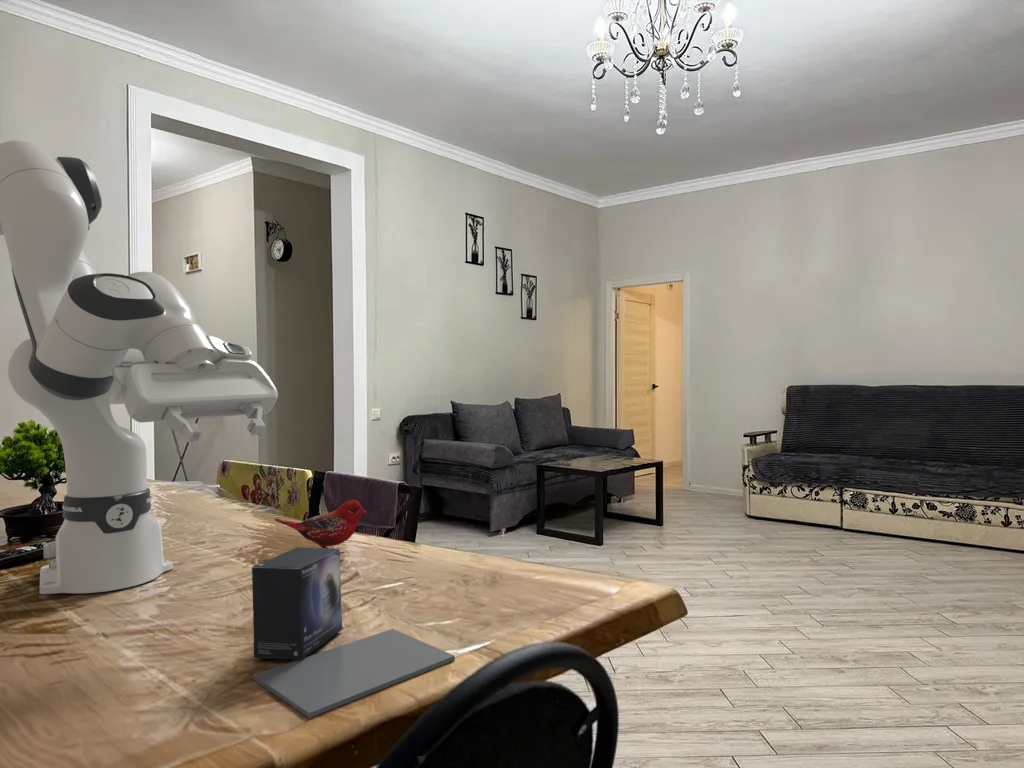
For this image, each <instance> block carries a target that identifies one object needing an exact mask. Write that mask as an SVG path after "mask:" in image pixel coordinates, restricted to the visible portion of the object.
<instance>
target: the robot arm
mask: <svg viewBox="0 0 1024 768" xmlns="http://www.w3.org/2000/svg"><path fill="white" fill-rule="evenodd" d="M102 200H103V192H102V187H101V184H100V181H99V179H98V177H97V176H96V174H95V173H94V172H93V170H92V169H91V168H90V166H89V165H88V164H87V163H86V162H85V161H83V160H82V159H81V158H78V157H71V156H70V157H69V156H57V158H54V157H53V156H51V154H49V153H48V152H47V151H46V150H45V149H44V148H41V147H40V146H39V145H37V144H35V143H32V142H28V141H25V140H8V141H5V142H1V143H0V236H3V237H4V240H5V243H6V247H7V252H8V257H9V262H10V266H11V272H12V277H13V281H14V287H15V291H16V295H17V299H18V302H19V306H20V309H21V313H22V315H23V318H24V322H25V324H26V328H27V331H28V335H29V338H28V339H25V340H23V341H22V342H21V343H19V344H18V346H17V347H16V348H15V349H14V351H13V352H12V354H11V356H10V359H9V361H8V366H7V367H8V368H7V371H8V372H7V374H8V380H9V383H10V385H11V387H12V389H13V391H14V392H15V393H16V395H18V396H19V398H20V399H21V400H23V401H24V402H26V403H27V404H29V405H31V406H33V407H34V408H35V409H36V410H38V411H39V412H40V413H41V414H42V415H44V417H46V418H47V420H49V422H50V423H51V425H52V426H53V427H54V429H55V432H56V433H57V436H58V437H59V440H60V442H61V445H62V446H61V447H62V450H63V455H64V456H63V458H64V466H65V478H66V494H65V496H63V503H62V507H61V508H62V517H63V519H64V520H63V522H62V524H61V525H60V527H59V530H58V531H57V533H56V536H55V540H54V541H52V540H51V541H49V542H48V543H44V544H43V547H42V548H43V559H46V560H47V559H51V558H55V560H49V562H48V564H46V565H43V566H41V567H40V572H39V594H40V595H52V594H53V595H54V594H93V593H103V592H111V591H116V590H121V589H127V588H132V587H135V586H139V585H141V584H145V583H147V582H150V581H152V580H154V579H156V578H158V577H159V576H161V575H162V574H163V573H165V572H168V571H171V570H172V569H174V566H173V561H171V560H169V559H168V560H167V559H165V558H164V552H163V551H164V550H163V549H164V548H163V547H164V546H163V538H162V527H161V522H160V520H158V519H157V518H155V517H154V516H152V514H151V512H150V511H151V510H152V504H151V502H152V496H151V489H150V488H149V487H148V479H147V477H148V475H147V474H148V472H147V447H146V444H145V442H144V440H143V439H142V438H141V437H140V436H139V434H137V433H135V432H133V431H132V430H131V429H130V430H129V429H128V428H126V427H123V426H120V425H119V424H118V423H117V422H116V420H115V418H114V416H113V414H112V411H111V405H124V406H125V408H126V411H127V415H128V416H129V417H130V418H131V419H132V420H134V421H136V422H138V423H151V422H152V423H153V422H164V424H165V425H166V427H168V428H170V429H171V430H173V431H174V432H176V433H178V434H180V435H181V437H182V439H183V441H184V443H191V442H198V441H199V438H200V437H201V436H202V432H201V430H200V428H199V425H198V424H197V422H194V423H193V422H192V423H190V422H189V421H188V420H194V419H208V418H222V417H235V416H236V417H237V416H246V418H247V419H249V420H250V419H251V420H250V421H249V424H248V425H247V426H246V429H247V431H248V432H249V433H250V434H249V435H251V436H252V437H253V436H262V435H263V434H264V433H265V431H266V430H267V427H266V423H265V422H264V420H263V415H265V414H268V413H270V412H271V411H272V409H273V408H274V406H275V404H276V402H277V400H278V397H279V392H278V390H277V389H278V388H276V386H275V384H274V382H273V381H272V379H271V378H270V376H269V375H268V373H267V372H266V371H265V369H264V368H262V365H259V363H257V362H256V361H254V360H251V359H252V356H253V353H252V351H251V350H250V349H249V347H247V346H245V345H242V344H237V343H233V342H229V341H226V340H224V339H223V340H222V339H220V338H219V337H215V336H213V335H210V334H208V333H207V332H206V330H205V329H204V328H203V327H201V326H200V325H199V324H198V319H197V316H196V314H195V312H194V311H193V309H192V307H191V305H190V304H189V303H188V301H187V299H186V298H185V297H184V295H182V293H181V291H179V290H178V288H176V286H175V285H174V284H172V283H171V282H170V281H169V280H168V279H167V278H165V277H164V276H162V275H160V274H159V273H155V272H150V271H137V272H136V271H135V272H133V273H130V274H127V275H124V274H120V273H109V272H108V273H106V272H105V273H104V272H103V273H101V272H100V273H98V272H97V270H96V269H95V267H94V265H93V264H92V262H91V260H90V259H89V258H88V256H87V254H86V253H85V251H84V250H83V248H84V245H85V243H86V240H87V237H88V233H89V231H90V225H91V223H93V222H94V221H95V220H96V219H97V218H98V216H99V214H100V212H101V209H102V207H103V205H102V204H103V203H102V202H103V201H102Z"/></svg>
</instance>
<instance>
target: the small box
mask: <svg viewBox="0 0 1024 768" xmlns="http://www.w3.org/2000/svg"><path fill="white" fill-rule="evenodd" d="M340 552H341V549H340V548H329V547H327V548H322V547H304V546H303V547H302V546H300V547H295V548H293V549H290V550H288V551H286V552H283V553H281V554H279V555H277V556H274V557H272V558H270V559H267V560H265V561H262V562H260V563H258V564H255V565H253V566H251V582H252V584H251V586H252V591H251V592H252V614H253V615H252V616H253V617H252V618H253V619H252V620H253V624H252V625H253V659H254V658H255V659H273V660H274V659H275V660H290V661H291V660H292V661H296V660H301V659H303V658H305V657H308V655H310V654H311V653H312V652H314V651H315V650H317V649H318V648H320V647H321V646H322V645H323V644H325V643H326V642H327V641H329V640H330V639H331V638H332V637H335V636H336V635H337V634H339V632H341V631H342V630H343V617H342V616H343V612H342V611H343V609H342V586H341V584H342V581H341V554H340Z"/></svg>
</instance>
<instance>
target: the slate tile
mask: <svg viewBox="0 0 1024 768" xmlns="http://www.w3.org/2000/svg"><path fill="white" fill-rule="evenodd" d="M455 660H456V655H454V654H452V653H450V652H447V651H445V650H442V649H441V648H439V647H435V646H433V645H431V644H429V643H426V642H424V641H422V640H420V639H417V638H415V637H413V636H411V635H408V634H406V633H404V632H402V631H400V630H397V629H394V628H391V629H387V630H384V631H382V632H379V633H376V634H372V635H370V636H367V637H364V638H361V639H360V638H359V639H357V640H354V641H351V642H348V643H345V644H342V645H339V646H336V647H334V648H333V647H332V648H331V649H327V650H324V651H321V652H318V653H314V654H312V655H309V656H308V655H307V656H306V657H304V658H303V659H301V660H292V661H291V662H288V663H285V664H281V665H279V666H275V667H273V668H269V669H266V670H263V671H260V672H257V673H255V674H252V680H253V681H255V682H256V683H258V684H259V685H261V686H262V687H263V688H264V689H267V691H269V692H270V693H272V694H274V695H275V696H276V697H278V698H279V699H280V700H281V701H283V702H285V703H287V704H288V705H289V704H290V705H289V706H290V707H293V708H294V709H295V710H296V711H298V712H300V713H301V714H302V715H304V716H305V717H307V718H308V719H311V718H314V717H316V716H319V715H321V714H324V713H326V712H328V711H331V710H333V709H336V708H339V707H340V706H344V705H346V704H349V703H351V702H354V701H356V700H358V699H361V698H363V697H366V696H368V695H371V694H373V693H377V692H379V691H381V690H384V689H385V688H388V687H391V686H394V685H396V684H399V683H400V682H404V681H406V680H408V679H411V678H414V677H416V676H419V675H421V674H423V673H425V672H428V671H431V670H434V669H436V668H438V667H441V666H443V665H446V664H449V663H450V662H454V661H455Z"/></svg>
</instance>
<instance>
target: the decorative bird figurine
mask: <svg viewBox="0 0 1024 768" xmlns="http://www.w3.org/2000/svg"><path fill="white" fill-rule="evenodd" d="M363 514H367V511H366V510H365V509H364V508H363V507H362V504H361V503H360V502H359V501H358V500H355V499H351V500H348V501H345V502H343V503H342V504H341V505H340V506H339V507H337V509H335V510H334V511H331V512H328V513H323V514H320V515H316V516H312V517H311V518H308V519H305V520H303V521H302V522H296V521H292V520H291V521H290V520H285V519H280V518H274V521H276V522H278V523H280V524H283V525H285V526H287V527H290V528H293V529H294V530H296V531H297V532H298V533H299V534H300V535H301V536H302V537H303V538H304V539H305V540H308V541H311V542H312V543H315V544H317V545H319V546H320V548H328V547H333V546H339V545H341V544H343V543H344V542H345V543H346V541H348V540H349V539H350V538H351V537H352V536H353V535H354V534H355V531H356V530H357V527H358V524H359V522H360V520H361V518H362V515H363ZM341 554H346V552H344V551H340V555H341Z"/></svg>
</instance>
